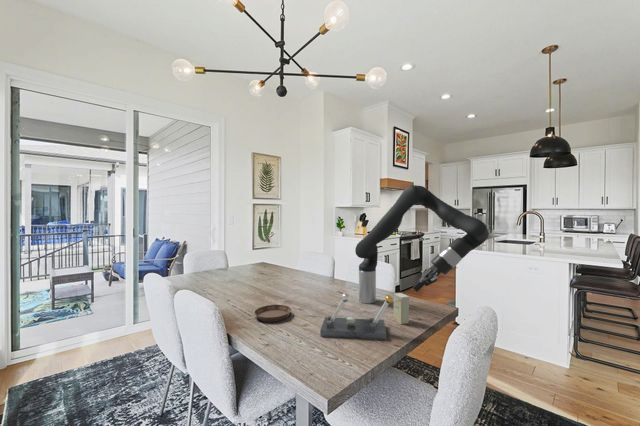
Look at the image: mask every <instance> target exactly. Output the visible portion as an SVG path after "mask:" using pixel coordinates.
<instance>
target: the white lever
mask: <svg viewBox="0 0 640 426" xmlns="http://www.w3.org/2000/svg"><path fill="white" fill-rule="evenodd" d="M349 298H350V297H349V294H348V293H347V292H344V293H342V296H341V300H340V302H339V304H338V305H337V307H336V309H335V310H334V312H333V314H332V317H331V319H330V321H332V323H333V321H334V319H335V318H337V316H338V314H339V313H340V311H341V309H342V307H343V305H344V304H345V303H346V302H348V301H349Z"/></svg>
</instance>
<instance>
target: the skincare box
mask: <svg viewBox="0 0 640 426" xmlns="http://www.w3.org/2000/svg"><path fill="white" fill-rule="evenodd" d="M392 313H393V316H392V317H393V318H392V319H393V320H394V321H395V322H397V323H399V324H400V325H404V324H409V323H410V295H407V294H404V293H402V292H397V293H396V292H395V293H393V312H392Z"/></svg>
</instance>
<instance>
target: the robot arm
mask: <svg viewBox="0 0 640 426" xmlns="http://www.w3.org/2000/svg"><path fill="white" fill-rule="evenodd" d="M414 206H422V207H424V208H426V209H429V210H430V211H432V212H433V213H434V214H436V216H437V217H438V218H439V219H440V220H441V221H443V222H444V223H446V224H448V225H449V226H451V227H453V228H454V229H456V230H460V231H463V232H464V233H466V234H464V236H463V237H457V238H455V239H454V240H453V241H452V242H451V243H450V244H448V246H446V247H445V248H444V249H442V250H441V251H440V252H439V253H438V254H437V255H436V256H435V257H434V258H432V260H430V262H431V263H430V264H432V266H430V267H428V268H425V269H424V271H423V272H422V274H421V275H420V276H419V279H418V281H417V282H416V283H415V284H414V285H412V289H413V290H414V291H415V292H419V291H420V290H421V289H422V288H423V287H427V286H429V285H431V284H433V283H436V282H437V281H438V279H439V276H440V275H441V274H443V275H445V276H447V274H448V273H449V272H451V271H452V270H453V269H454V268H455V267H456V266H457V265H458V264H459V263H460V262H461V261H462V260H463V259H464V258H465V257H466V256H467V255H468V254H469V253H470V252H471V251H473V250H475V249H477V248H478V247H480V246H481V245H482V244H484V243H485V242H486V241H487V240H488V238H489V236H490V235H489V234H490V232H489V229H488V227H487V225H486V223H484V222H483V220H481V219H478V218H476V217H474V216H472V215H469V214H466V213H464V212H462V211H460V210H459V209H457V208H455V207H453V206H452V205H450V204H448V203H447V202H444V201H443V200H442V199H440V198H439V197H437V196H436V195H435V194H434V193H433V192H431V191H430V190H429V189H428V188H426V187H425V186H423V185H415V184H414V185H413V184H411V185H409V186H407V187H405V188H404V190H403V191H402V192H401V194H400V195H399V197H398V198H397V199H396V201H395V202H394V203H393V205H392V206H391V207H390V208H389V209H388V211H386V213H385V214H384V215H383V216H382V218H380V220H378V222H377V223H376V224H375V225H374V227H372V229H371V230H370V231H369V232H368V234H366V235H365V236H364V238H362V239H361V240H360V241H358V243H357V244H356V246H355V251H354V252H355V254H356V256H357V257H358V258H360V259H363V261H362V262H361V263H359V265H358V301H359V302H360V303H362V304H375V303H376V302H377V270H376V269H377V266H378V256H379V255H378V254H379V253H378V249H379V248H378V244H379V243H381V242H383V241H385V240H386V239H387V238H389V237H391V236H392V235H393V234H394V233H395V232H396V231H397V230H398V229H399V228H400V226H401V224H402V221H403V218H404V215H405V214H406V213H407V212H408V211H409V210H410V209H411V208H412V207H414Z"/></svg>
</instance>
